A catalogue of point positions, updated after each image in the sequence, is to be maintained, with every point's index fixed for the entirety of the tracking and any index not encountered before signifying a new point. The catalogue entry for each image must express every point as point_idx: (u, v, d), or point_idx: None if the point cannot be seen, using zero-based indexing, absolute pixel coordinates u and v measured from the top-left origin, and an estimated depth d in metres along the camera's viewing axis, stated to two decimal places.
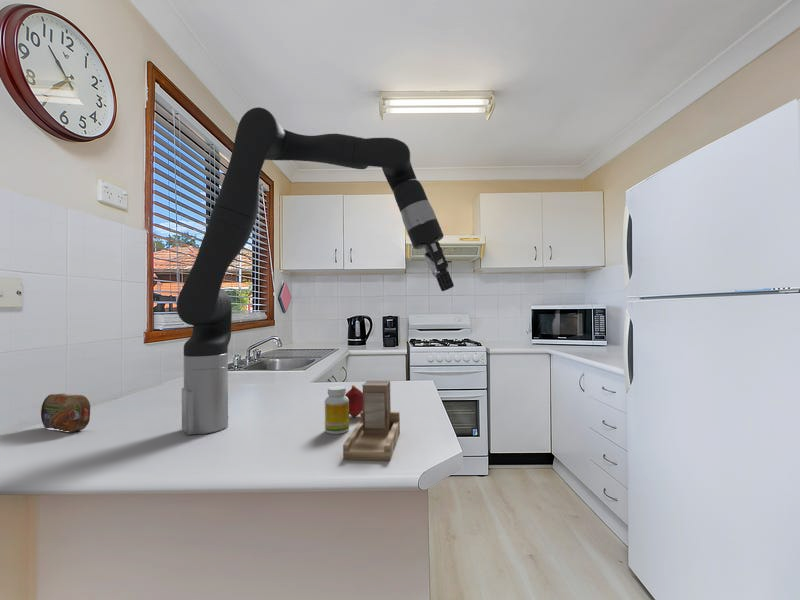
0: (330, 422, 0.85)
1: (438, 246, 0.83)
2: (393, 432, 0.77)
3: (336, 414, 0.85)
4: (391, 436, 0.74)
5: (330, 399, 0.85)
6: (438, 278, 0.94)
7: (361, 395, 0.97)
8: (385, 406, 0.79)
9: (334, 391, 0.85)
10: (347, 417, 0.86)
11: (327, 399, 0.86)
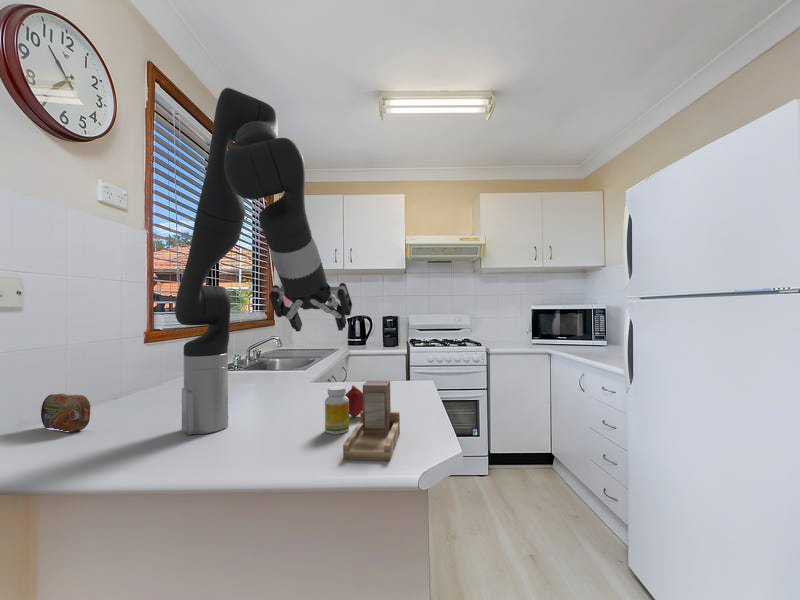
0: (330, 422, 0.85)
1: None
2: (393, 432, 0.77)
3: (336, 414, 0.85)
4: (391, 436, 0.74)
5: (330, 399, 0.85)
6: None
7: (361, 395, 0.97)
8: (385, 406, 0.79)
9: (334, 391, 0.85)
10: (347, 417, 0.86)
11: (327, 399, 0.86)
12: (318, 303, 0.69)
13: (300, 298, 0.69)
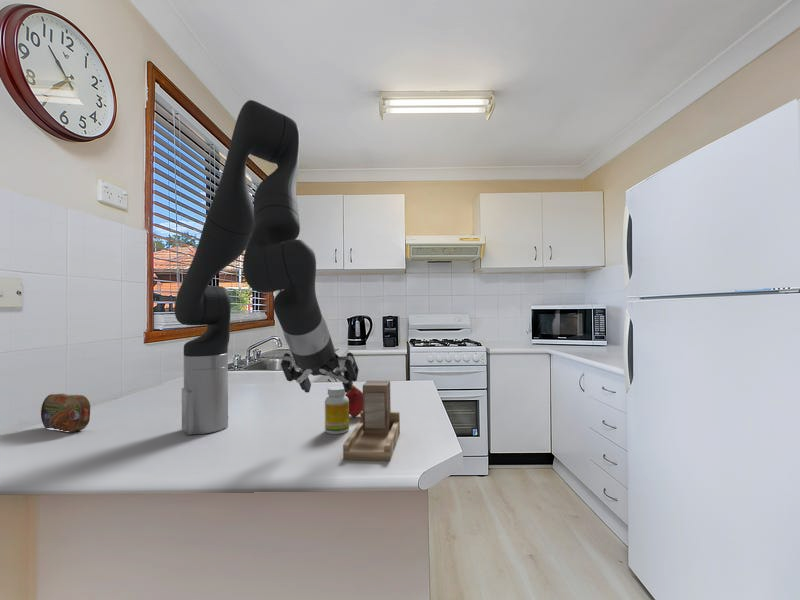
0: (330, 422, 0.85)
1: None
2: (393, 432, 0.77)
3: (336, 414, 0.85)
4: (391, 436, 0.74)
5: (330, 399, 0.85)
6: None
7: (361, 395, 0.97)
8: (385, 406, 0.79)
9: (334, 391, 0.85)
10: (347, 417, 0.86)
11: (327, 399, 0.86)
12: (326, 372, 0.74)
13: None
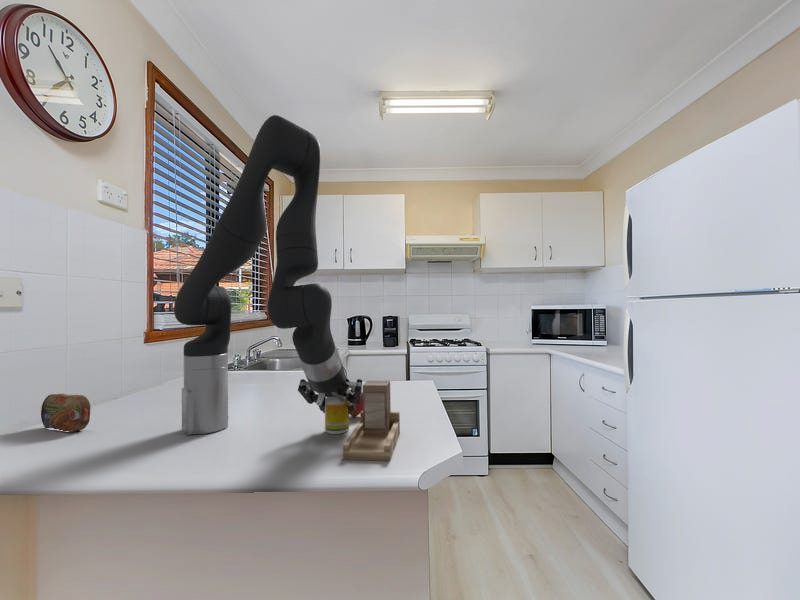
0: (330, 422, 0.85)
1: None
2: (393, 432, 0.77)
3: (336, 414, 0.85)
4: (391, 436, 0.74)
5: (330, 399, 0.85)
6: None
7: (361, 395, 0.97)
8: (385, 406, 0.79)
9: None
10: (347, 417, 0.86)
11: (327, 398, 0.86)
12: (337, 395, 0.81)
13: None
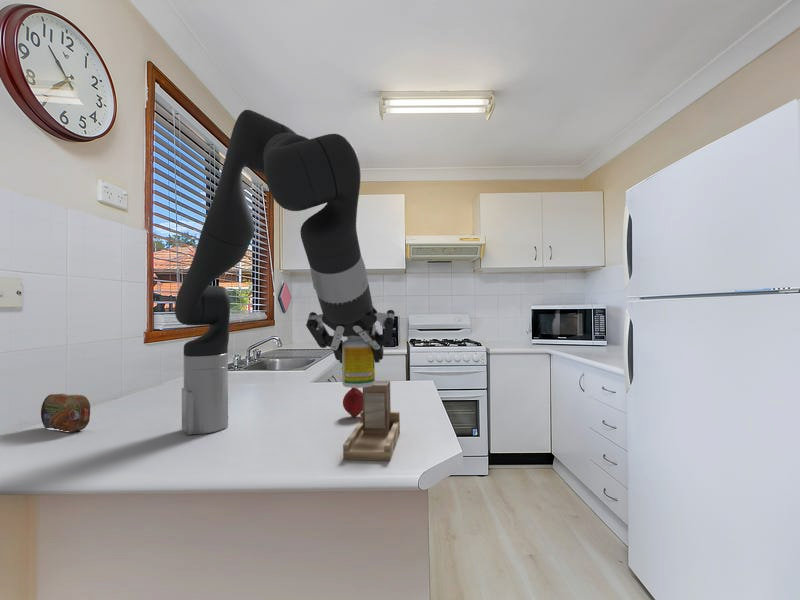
0: (350, 371, 0.62)
1: None
2: (393, 432, 0.77)
3: (359, 360, 0.62)
4: (391, 436, 0.74)
5: (349, 341, 0.63)
6: None
7: (361, 395, 0.97)
8: (385, 406, 0.79)
9: None
10: (372, 366, 0.64)
11: (346, 341, 0.64)
12: (361, 331, 0.59)
13: (340, 324, 0.59)
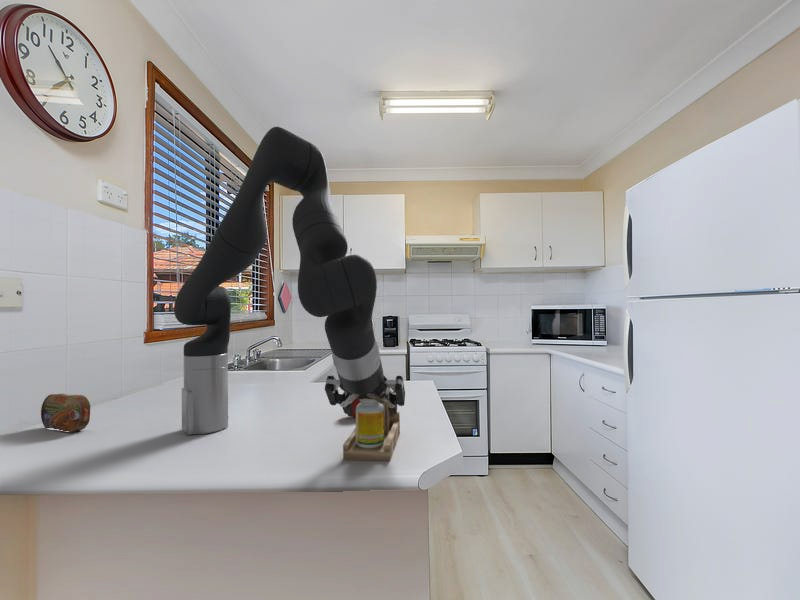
0: (363, 434, 0.71)
1: None
2: (393, 432, 0.77)
3: (371, 424, 0.71)
4: (391, 436, 0.74)
5: (362, 407, 0.72)
6: None
7: None
8: (385, 406, 0.79)
9: None
10: (382, 428, 0.73)
11: (359, 406, 0.72)
12: (374, 396, 0.68)
13: None
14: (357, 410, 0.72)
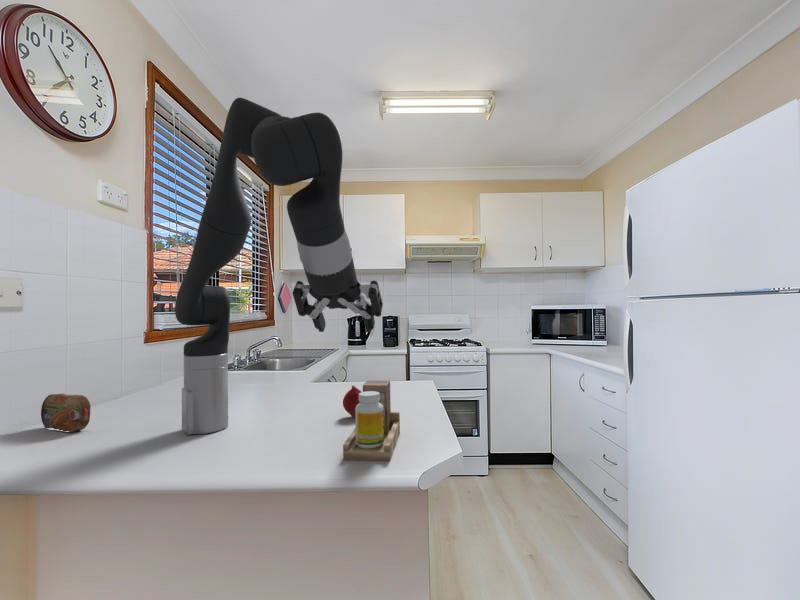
0: (363, 434, 0.71)
1: None
2: (393, 432, 0.77)
3: (370, 424, 0.71)
4: (391, 436, 0.74)
5: (362, 407, 0.72)
6: None
7: None
8: (385, 406, 0.79)
9: (367, 397, 0.72)
10: (382, 428, 0.73)
11: (358, 406, 0.73)
12: (346, 302, 0.62)
13: (327, 296, 0.62)
14: (356, 410, 0.72)
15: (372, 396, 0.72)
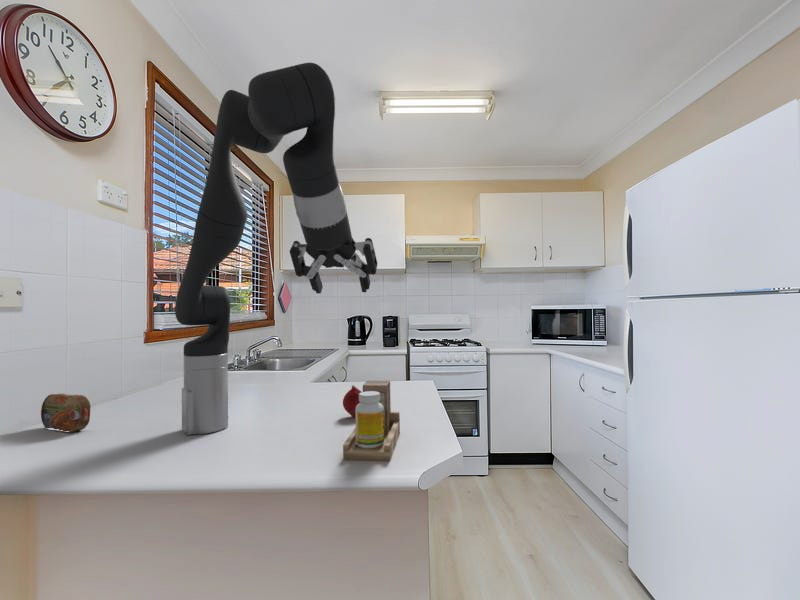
0: (363, 434, 0.71)
1: None
2: (393, 432, 0.77)
3: (370, 424, 0.71)
4: (391, 436, 0.74)
5: (362, 407, 0.72)
6: None
7: None
8: (385, 406, 0.79)
9: (367, 397, 0.72)
10: (382, 428, 0.73)
11: (359, 406, 0.73)
12: (342, 259, 0.64)
13: (323, 254, 0.64)
14: (357, 410, 0.72)
15: (372, 396, 0.72)
